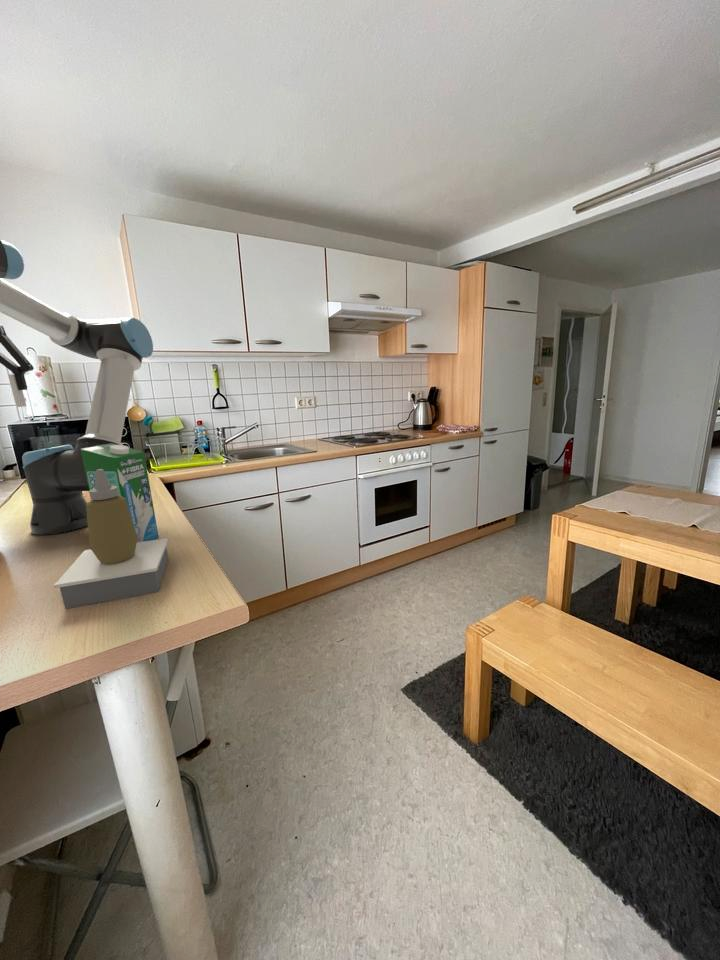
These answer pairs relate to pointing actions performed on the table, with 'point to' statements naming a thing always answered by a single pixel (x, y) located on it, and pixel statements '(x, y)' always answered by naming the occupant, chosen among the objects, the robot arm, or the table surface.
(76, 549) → the table surface
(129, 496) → the milk carton
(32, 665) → the table surface
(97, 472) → the squeeze bottle
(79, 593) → the display podium
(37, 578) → the table surface
